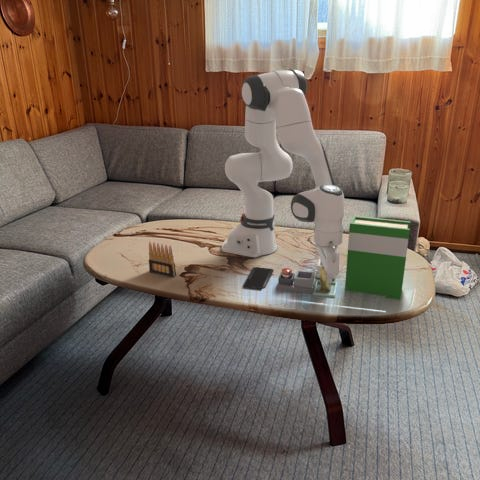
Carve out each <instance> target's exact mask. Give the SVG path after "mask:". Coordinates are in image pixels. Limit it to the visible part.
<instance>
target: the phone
mask: <svg viewBox="0 0 480 480" xmlns="http://www.w3.org/2000/svg"><path fill="white" fill-rule="evenodd" d="M273 273H274V269H273V268H268V267H258V266H257V267H256V266H253V267H252V269H251V270H250V272H249V273H248V276H247V277H246V278H245V280H244V282H243V284H242V287H243V288H244V289H251V290H259V291H263V289H266V287H267V285H268V283H269V281H270V280H271V277H272V275H273Z"/></svg>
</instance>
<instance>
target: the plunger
mask: <svg viewBox="0 0 480 480" xmlns="http://www.w3.org/2000/svg"><path fill="white" fill-rule="evenodd" d="M281 272H282V278H288V279H291V273H293V269H292V268H290V267H284V268H282V269H281Z"/></svg>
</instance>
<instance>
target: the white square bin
mask: <svg viewBox="0 0 480 480" xmlns="http://www.w3.org/2000/svg"><path fill="white" fill-rule="evenodd" d="M316 272H317V274H316V279H320V274H321V262H320V259H319V261H318V264H317V271H316ZM336 277H337V275H335V276H333V278H332V280H336Z"/></svg>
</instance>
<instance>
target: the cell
mask: <svg viewBox="0 0 480 480" xmlns="http://www.w3.org/2000/svg"><path fill="white" fill-rule="evenodd" d="M326 276H327V274H326V271H325V269H324V267H322V268H321V274H320V278H319V280H320V283H319V290H320V291H321V292H324V293H328V292H330V291H331V289H332V284H331V283H327V282H326Z"/></svg>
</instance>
